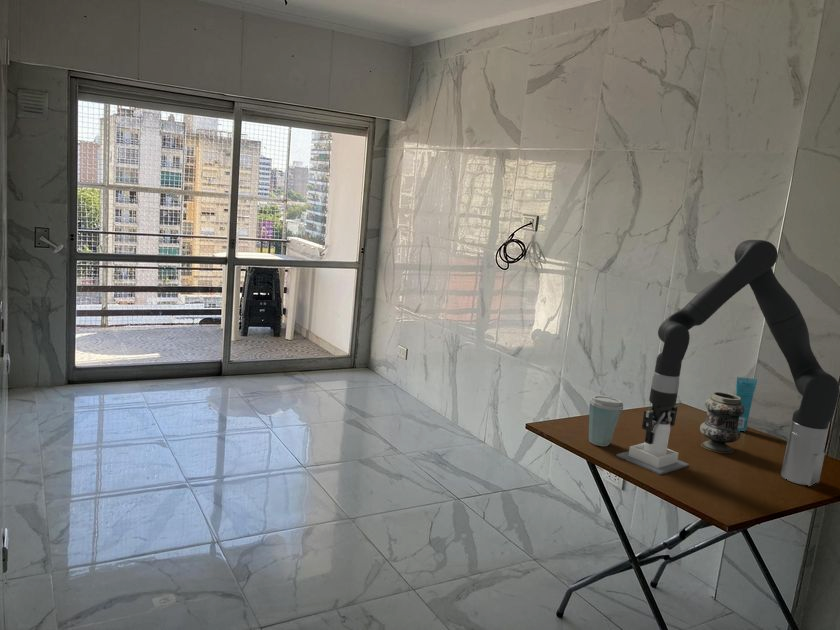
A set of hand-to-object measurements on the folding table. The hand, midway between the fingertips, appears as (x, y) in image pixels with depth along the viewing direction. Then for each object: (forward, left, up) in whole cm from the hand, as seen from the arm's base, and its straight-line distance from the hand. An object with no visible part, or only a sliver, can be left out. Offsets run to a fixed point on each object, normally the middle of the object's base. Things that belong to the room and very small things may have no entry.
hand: (655, 441), depth 204 cm
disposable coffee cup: (+17, +3, -6) cm, 18 cm away
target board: (0, 0, -6) cm, 6 cm away
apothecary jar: (-3, -32, -7) cm, 33 cm away
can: (0, 0, -6) cm, 6 cm away
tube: (+4, -59, -7) cm, 59 cm away
